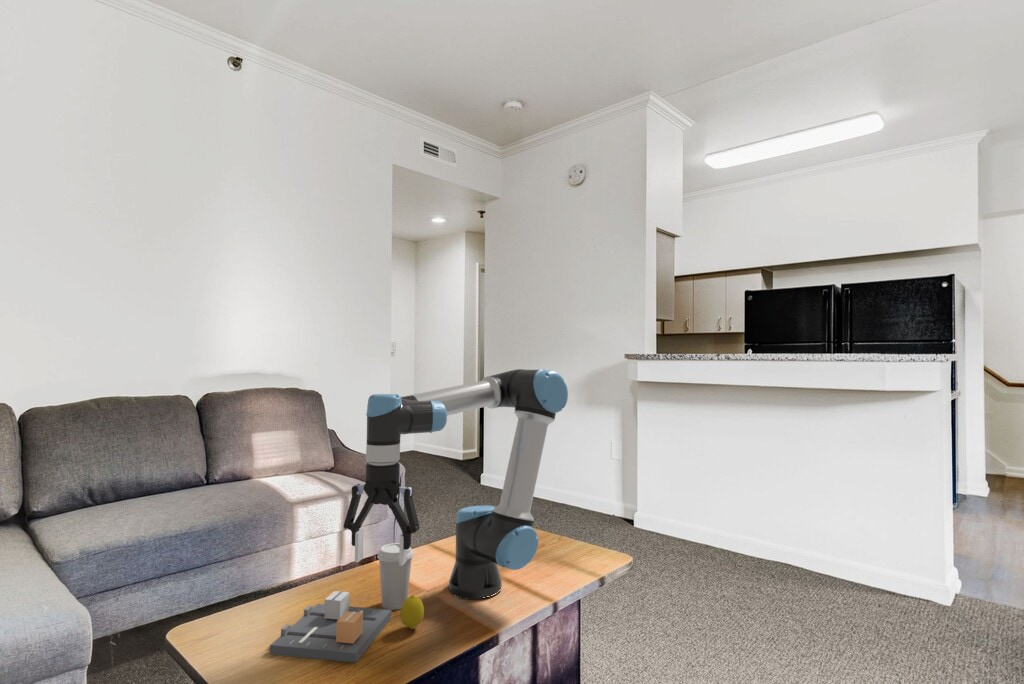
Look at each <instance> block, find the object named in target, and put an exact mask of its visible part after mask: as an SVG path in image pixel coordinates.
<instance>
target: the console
mask: <svg viewBox="0 0 1024 684" xmlns="http://www.w3.org/2000/svg"><path fill="white" fill-rule="evenodd" d="M392 611H393V610H387V609H384V608H371V607H360V606H349V612H360V613H363V633H362V634H361V635H360V636H359V637H358V639H357V640H356V641H355V642H354V643H353V644H352V643H342V642H336V631H337V621H338V620H337V619H326V618H324V615H325V603H317V604H316V605H314V606H313V605H308V606H307V607H305V608H304V609H303V616H302V617H301V618H300V619H298V620H297V621H296V622H295V623H294V624H292V625H291V624H290V623H286V624H285V625H284V626H283V627H281V629H280V636H279V637H278V638H277V639H275V640H274V641H273V642H272V643H270V645H269V654H270V655H277V656H286V657H295V658H302V659H303V658H305V659H314V660H324V661H325V660H326V661H334V662H344V663H345V662H346V663H353V664H354V663H355V664H356V663H357V662H358V661H359V659H360V658H361V657H362V656H363V655H364V653H365V651H367V649H368V648H369V647H370V645H371V644H372V643H373V642H374V641H375V640H376V638H377V637H378V636H379V634H380V633H381V632H382V631H383V629H384V628H386V626H387V624H388V623H389V622H390V620H392V613H393V612H392Z"/></svg>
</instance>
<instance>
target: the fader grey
mask: <svg viewBox="0 0 1024 684" xmlns="http://www.w3.org/2000/svg"><path fill="white" fill-rule="evenodd" d="M324 604H325V615H324V618H326V619H337V620H339V619H340V618H341V617H342V616H343V615H344V614H345V613H346V612H347V611H349V607H350V592H349V591H343V590H340V591H339V590H338V591H337V590H334V591H333V592H332V593H331V594H329V595H328V596H327V597H326V598H324Z"/></svg>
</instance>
